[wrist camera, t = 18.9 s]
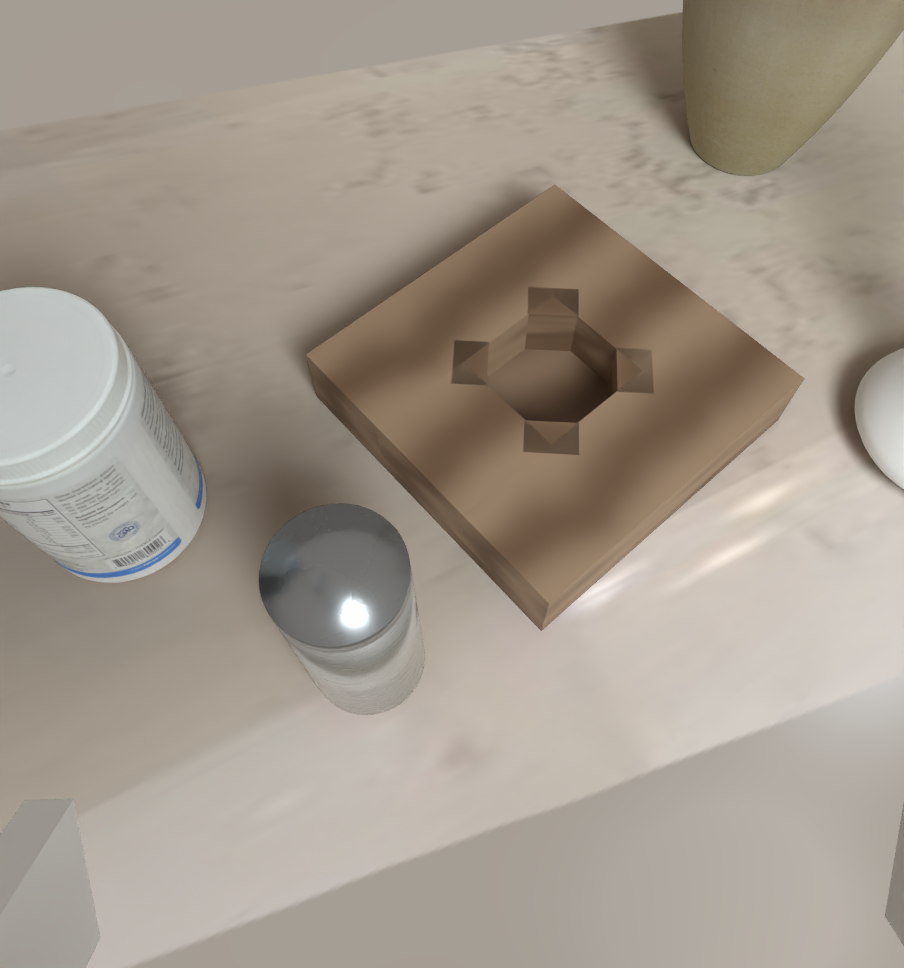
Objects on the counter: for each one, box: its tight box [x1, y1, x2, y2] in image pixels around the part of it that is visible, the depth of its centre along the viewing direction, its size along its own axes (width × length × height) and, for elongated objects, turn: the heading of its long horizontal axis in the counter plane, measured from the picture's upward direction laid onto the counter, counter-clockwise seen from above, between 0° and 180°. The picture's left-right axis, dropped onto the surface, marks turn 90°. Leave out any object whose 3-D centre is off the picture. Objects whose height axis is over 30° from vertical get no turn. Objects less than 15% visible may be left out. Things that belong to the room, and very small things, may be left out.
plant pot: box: [682, 0, 904, 176], centre depth 56 cm, size 15×15×16 cm
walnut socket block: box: [306, 185, 804, 631], centre depth 50 cm, size 20×20×4 cm
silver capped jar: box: [259, 504, 425, 715], centre depth 39 cm, size 6×6×13 cm
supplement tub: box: [0, 287, 206, 583], centre depth 43 cm, size 10×10×15 cm
